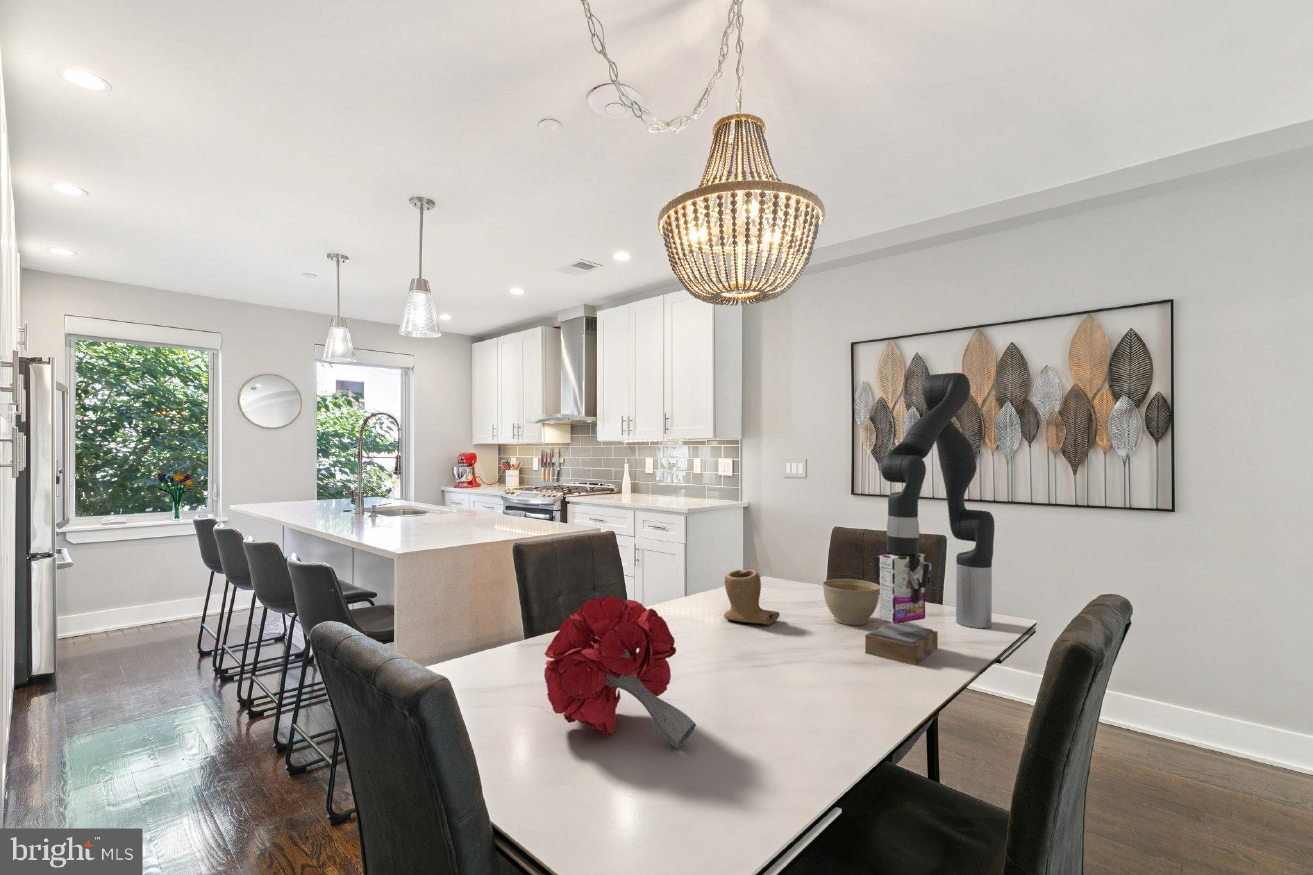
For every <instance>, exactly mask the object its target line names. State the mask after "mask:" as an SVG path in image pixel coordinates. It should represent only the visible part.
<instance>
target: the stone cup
mask: <svg viewBox="0 0 1313 875" xmlns="http://www.w3.org/2000/svg"><path fill="white" fill-rule="evenodd" d="M724 587H725V588H724V589H725V591H726V595H727V597H728V601H729V602H730V609H729V610H727V611H726V612H724V613H723V618H725V619H726V620H729V621H734V622H743V623H750V624H757V625H758V624H759V625H767V626H769V625H772V624H774V623H775V622H776V621H777V620H778V619H779V618H780V616H781V615H780V612H779V611H775V610H774V611H773V610H768V609H762V608H761V606H760V596H761V590H762V588H761V587H762V583H761V577H760V574H759V572H758V571H756V570H754V569H751V568H750V569H744V570H742V569H741V570H740V569H736V570H732V571H729V572H728V573H726V574H725V576H724Z"/></svg>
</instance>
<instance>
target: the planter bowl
mask: <svg viewBox="0 0 1313 875" xmlns="http://www.w3.org/2000/svg"><path fill="white" fill-rule="evenodd" d="M822 586H823V587H822V588H823V596H824V600H825V603H826V605H827V607H828V610H829V611H830V613H831V614H832V615H833V620H834V621H835V622H837V623H840V624H842V625H843V624H844V625H848V626H849V625H850V626H862V625H863V626H864V625H867V624H868V623H869V620H870V618H871V617H872V615H873V614H874V612H875V611H876V608H877V607H878V603H879V601H880V584H877V583H874V582H871V581H868V580H867V581H866V580H861V579H859V580H858V579H850V578H848V579H847V578H846V579H845V578H844V579H843V578H842V579H841V578H840V579H838V578H837V579H828V580H824V581H823V582H822Z"/></svg>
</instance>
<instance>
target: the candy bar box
mask: <svg viewBox="0 0 1313 875" xmlns="http://www.w3.org/2000/svg"><path fill="white" fill-rule="evenodd" d="M878 556H880V580H879V586H880V592H879V619H880V620H882V621H884V622H887V623H893V624H897V623H903V624H904V623H907V622H912V621H913V622H915V621H919V620H920V621H921V620H924V619H926V587H925V588H921V600H920V601H919V602H918V603H917V604H914V603H913V588H914V586H913V584H912V582H911V580H910V579H909V577H908V572H909V571H908V569H907V564H908V565H909V556H904V555H897V554H887V553H886V554H880V555H878ZM925 556H926V554H924V553H920V552H919V559H920V561H922V562H926V559H925ZM916 573H918V575H919V579H920V581H921V582H922V574H923V571H922V570H921V567H920V566H918V568H917V569H916V570H915V571H914V572H913V575H916Z"/></svg>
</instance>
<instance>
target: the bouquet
mask: <svg viewBox="0 0 1313 875" xmlns="http://www.w3.org/2000/svg"><path fill="white" fill-rule="evenodd" d="M675 642H676V641H675V637H674V636H673V634H672V633H671V631H670V629H669V626H668V624H667V622H666V621H665V619H664V618H663V617H662V616H660V615H659V613H658V612H657V611H656V610H655V609H653V608H648V609H647V608H646V607H645V606H644V605H643V604H642V603H640V602H638V601H637V600H633V599H628V600H624V599H621V598H618V597H616V596H615V595H614V596H610V595H608V596H596V597H593V598H591V599H590V600H587V601H586V602H585V603H582V604H581V605H580V606H579V608H578V609H577V610H576V612H574V613H572V614H570V615H569V618H568V617H567V618H566V620H565V621H563V622H562V624H561V625H560V627H559V631H558V632H557V633H556V634H555V636H553V638H552V641H551V643H549V645H548V646H547V649H546V650H545V652H544V655H545V657H546V658H549V660H547V661H546V662H545V665H546V667H544V672H543V673H544V674H543V675H544V680H545V684H546V690H547V694H546V695H547V698H548V701H549V702H550V705H551V706H552V710H553V712H554V713H555V714H560V715H562V714H563V715H562V716H563V717H564V720H566V722H568V723H569V724H570V723H574V722H576V721H577V722H579V723H580V724H586V725H587V726H589V727H591V728H592V729H594V730H595V729H596V730H599V731H601V733H603V734H604V735H606V736H610V735H612V734H614V732H615V730H616V722H617V720H616V717H617V713H616V709H617V707H618V704H619V702H620V699H621V692H620V689H621V690H623V691H626V692H627V693H629V694H630V695H632V696H633V697H634V698H636V699H637V700H638V702H639V703H640V704H642V706H643V707H644V708H645V710H647V713H648V714H649V716H650V717H651V718H652V720H653V722H654V724H655V725H656V726H657V728H658V730H659V732H660V733H661V734H662V735H663V737H664V738H665V739H666V740H667V742H669V744H670V745H672V746H673V747H674V748H675V749H676V750H677V749H680V747H681V746H683V744H684V743H685V742H686V741H687V740H688V739H689V738H690V736H691V734H692V733H693V731H694V730H695V728H696V726H697V724H696V722H695V721H694V720H692V719H691V717H689V716H688V714H686V713H685V712H683V711H682V710H680V709H679V708H677V707H675V706H673V705H672V704H670V703H668V702H666V701H664V700H663V699H661V697H660V696H661V695H662V694H664V693H665V692H666V691H667V690H668V686H669V685H670V682H671V678H672V677H671V676H672V674H671V667H670V664H669V661H668V660H667V659H668V658H671V657H673V656H674V655H676V652H677V648H676V647H675ZM637 650H638V651H637ZM618 688H619V689H618ZM617 689H618V691H617Z"/></svg>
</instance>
